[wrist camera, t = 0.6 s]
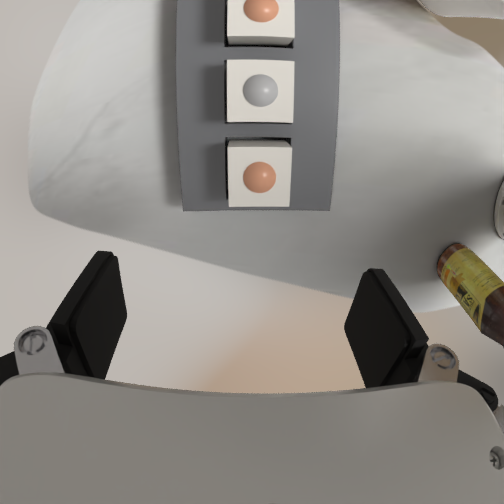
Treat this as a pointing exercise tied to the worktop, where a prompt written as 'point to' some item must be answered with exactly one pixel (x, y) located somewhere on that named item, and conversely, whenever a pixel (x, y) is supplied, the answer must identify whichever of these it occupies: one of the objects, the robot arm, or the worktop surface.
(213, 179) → the slotted grey tray
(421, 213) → the worktop surface
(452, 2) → the foam cup
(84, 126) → the worktop surface
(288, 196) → the dot key
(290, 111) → the plain key
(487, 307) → the sauce bottle
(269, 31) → the dot key
